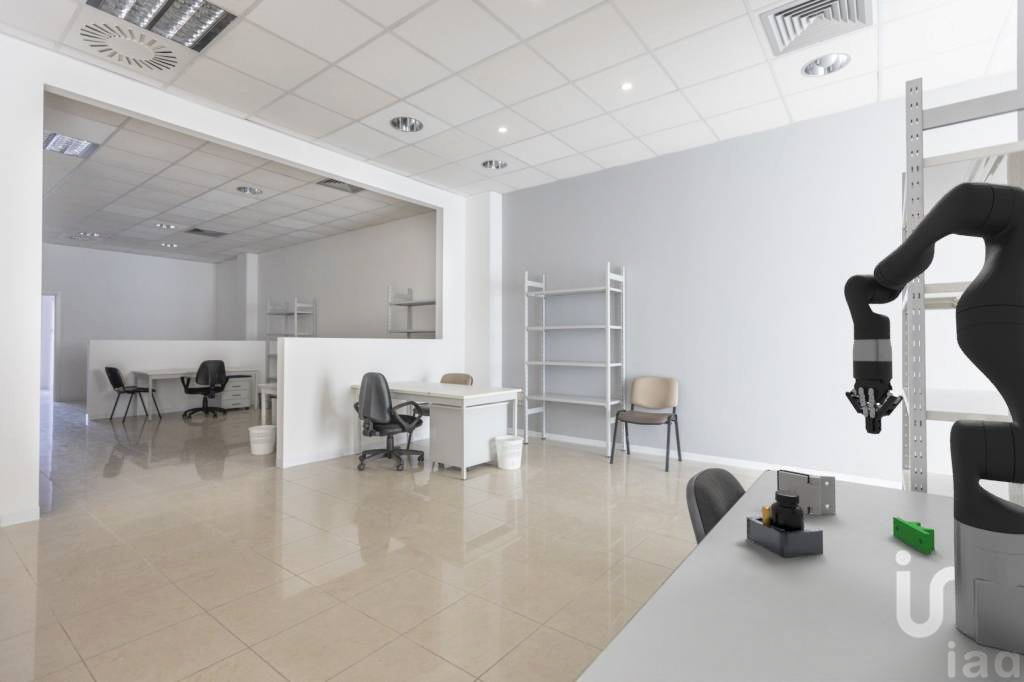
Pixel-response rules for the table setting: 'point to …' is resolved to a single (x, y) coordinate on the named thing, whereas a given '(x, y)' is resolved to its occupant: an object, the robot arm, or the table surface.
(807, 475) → the hinge
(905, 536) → the pipe clamp
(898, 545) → the table surface
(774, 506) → the supplement bottle
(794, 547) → the keeper cradle
